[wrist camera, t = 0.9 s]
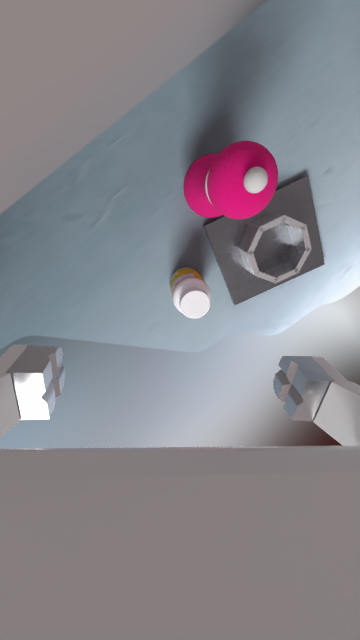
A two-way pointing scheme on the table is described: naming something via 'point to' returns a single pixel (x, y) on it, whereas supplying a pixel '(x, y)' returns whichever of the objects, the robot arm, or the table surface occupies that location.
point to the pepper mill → (232, 181)
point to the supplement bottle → (190, 292)
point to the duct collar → (268, 243)
